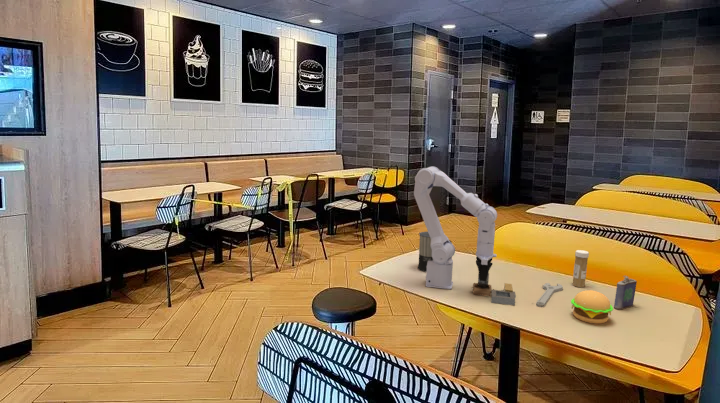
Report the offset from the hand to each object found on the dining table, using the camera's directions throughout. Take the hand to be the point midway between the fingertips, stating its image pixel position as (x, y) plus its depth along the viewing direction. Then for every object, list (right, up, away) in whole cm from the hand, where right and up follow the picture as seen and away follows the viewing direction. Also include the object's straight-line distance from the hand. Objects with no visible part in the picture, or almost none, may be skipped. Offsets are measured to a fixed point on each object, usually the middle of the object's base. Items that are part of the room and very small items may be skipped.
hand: (482, 278), depth 172 cm
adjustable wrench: (+22, -7, 0) cm, 23 cm away
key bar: (+9, -5, 0) cm, 11 cm away
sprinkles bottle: (+39, -5, +12) cm, 41 cm away
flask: (+45, -8, -8) cm, 47 cm away
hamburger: (+29, -10, -19) cm, 36 cm away
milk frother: (-13, 0, +30) cm, 32 cm away
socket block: (+6, -6, -4) cm, 10 cm away
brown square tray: (0, -5, +1) cm, 5 cm away
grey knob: (0, -3, 0) cm, 3 cm away
